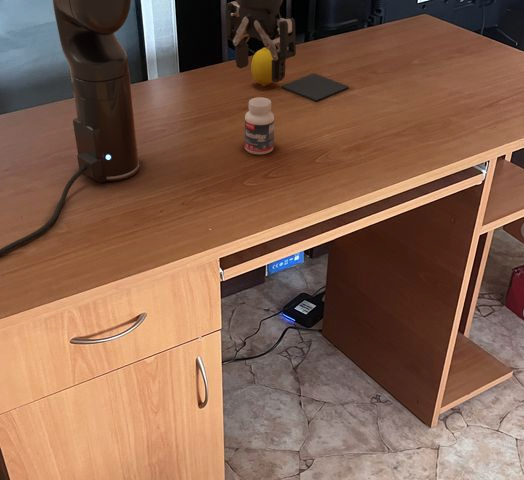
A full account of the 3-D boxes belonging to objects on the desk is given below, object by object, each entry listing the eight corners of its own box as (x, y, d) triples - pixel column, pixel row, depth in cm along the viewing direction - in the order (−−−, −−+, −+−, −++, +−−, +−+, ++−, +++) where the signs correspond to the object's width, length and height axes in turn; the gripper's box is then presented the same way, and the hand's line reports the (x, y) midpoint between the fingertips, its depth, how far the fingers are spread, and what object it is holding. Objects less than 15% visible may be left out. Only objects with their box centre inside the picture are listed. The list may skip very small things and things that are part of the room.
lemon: (267, 93, 162) (267, 54, 157) (245, 87, 165) (245, 48, 159) (282, 85, 165) (283, 46, 160) (261, 79, 168) (262, 41, 163)
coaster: (316, 101, 159) (316, 99, 159) (281, 87, 164) (281, 85, 164) (348, 88, 164) (348, 86, 164) (313, 75, 170) (313, 73, 170)
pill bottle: (240, 152, 142) (240, 105, 136) (250, 140, 146) (250, 93, 140) (268, 157, 140) (268, 109, 135) (277, 145, 144) (278, 98, 138)
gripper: (211, -32, 125) (215, 68, 136) (275, -13, 118) (274, 92, 128) (245, -42, 129) (246, 57, 140) (308, -24, 122) (305, 79, 132)
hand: (259, 73), depth 134 cm, fingers open, 8 cm apart
